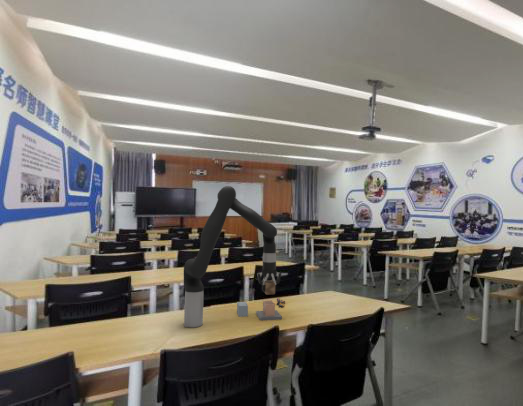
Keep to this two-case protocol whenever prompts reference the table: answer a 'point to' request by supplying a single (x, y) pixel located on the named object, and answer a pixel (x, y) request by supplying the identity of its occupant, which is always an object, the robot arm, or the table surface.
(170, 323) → the table surface
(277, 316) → the baseplate
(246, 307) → the brick slate
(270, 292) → the brick walnut
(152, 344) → the table surface
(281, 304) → the toy set
